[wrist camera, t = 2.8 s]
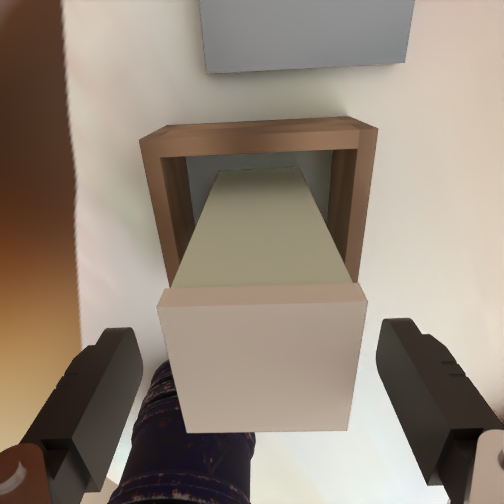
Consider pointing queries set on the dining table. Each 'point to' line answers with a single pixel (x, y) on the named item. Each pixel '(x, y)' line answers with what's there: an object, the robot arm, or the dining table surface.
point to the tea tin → (263, 312)
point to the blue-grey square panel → (303, 33)
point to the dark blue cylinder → (182, 456)
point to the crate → (261, 141)
